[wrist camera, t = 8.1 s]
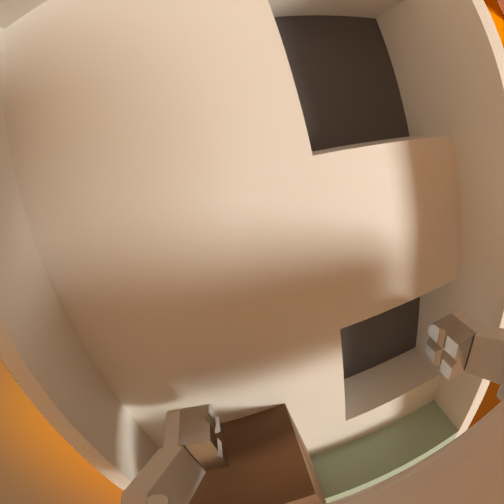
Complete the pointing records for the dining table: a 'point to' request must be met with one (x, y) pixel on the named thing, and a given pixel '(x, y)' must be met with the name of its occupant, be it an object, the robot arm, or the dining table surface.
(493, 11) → the dining table surface
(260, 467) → the walnut block
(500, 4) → the smoothie
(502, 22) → the dining table surface
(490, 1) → the dining table surface
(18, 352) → the box
